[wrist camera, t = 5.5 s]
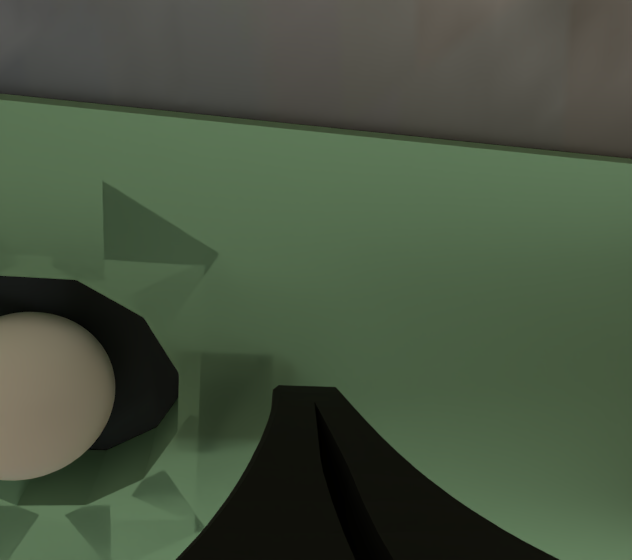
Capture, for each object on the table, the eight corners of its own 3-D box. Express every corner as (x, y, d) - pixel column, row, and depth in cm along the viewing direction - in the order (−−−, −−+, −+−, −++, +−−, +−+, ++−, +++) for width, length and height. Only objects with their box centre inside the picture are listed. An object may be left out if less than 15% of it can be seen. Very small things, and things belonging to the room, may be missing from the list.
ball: (-88, 286, 10) (98, 304, 10) (5, 320, 14) (144, 333, 14) (-145, 481, 9) (60, 499, 9) (-30, 465, 13) (119, 478, 13)
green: (759, 172, 14) (840, 185, 12) (624, 537, 18) (668, 590, 16) (-331, 58, 10) (-461, 52, 8) (-200, 551, 14) (-268, 621, 12)
